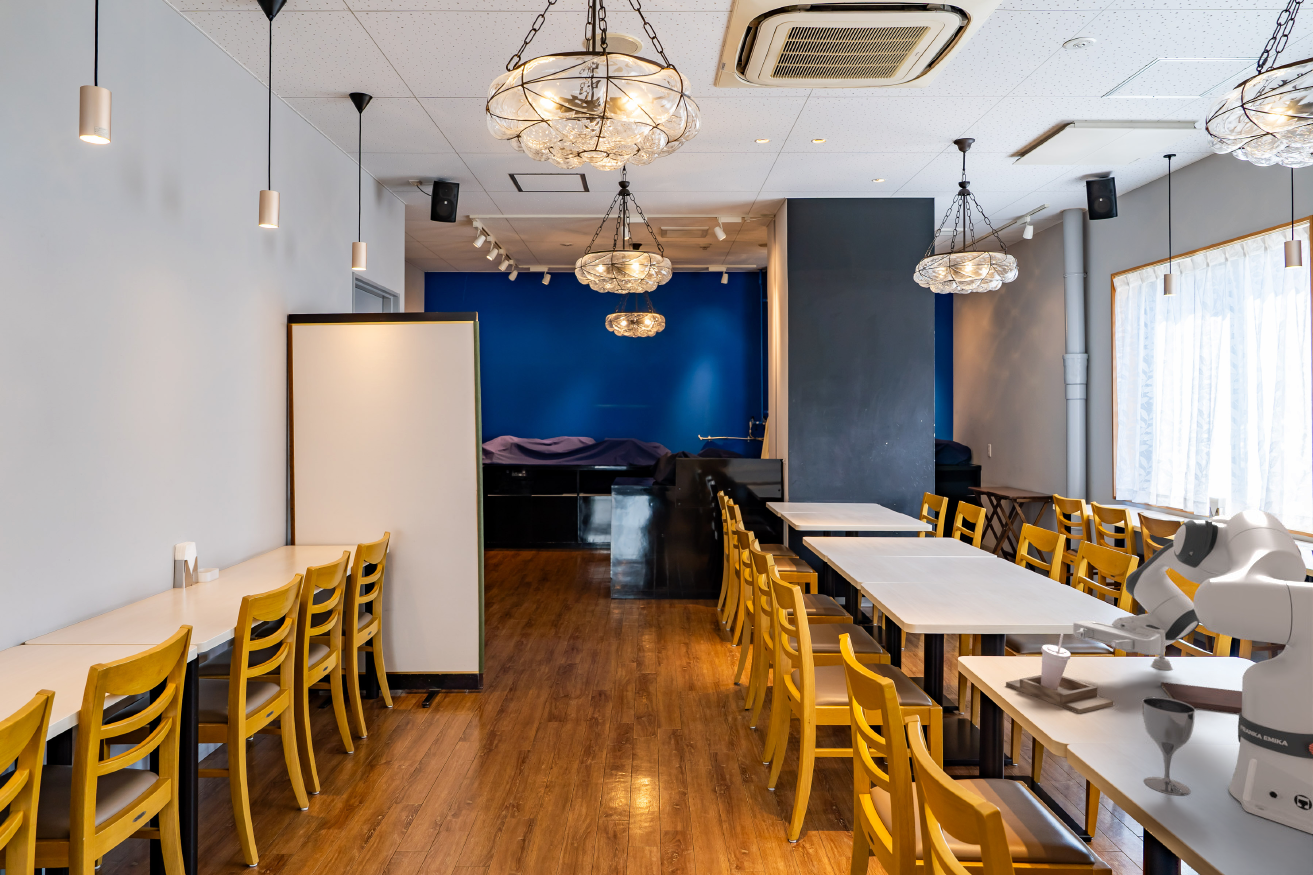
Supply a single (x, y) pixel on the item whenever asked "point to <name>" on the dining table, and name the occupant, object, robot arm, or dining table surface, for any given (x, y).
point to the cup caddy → (1063, 693)
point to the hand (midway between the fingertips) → (1095, 639)
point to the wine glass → (1168, 736)
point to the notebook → (1205, 697)
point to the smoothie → (1053, 664)
